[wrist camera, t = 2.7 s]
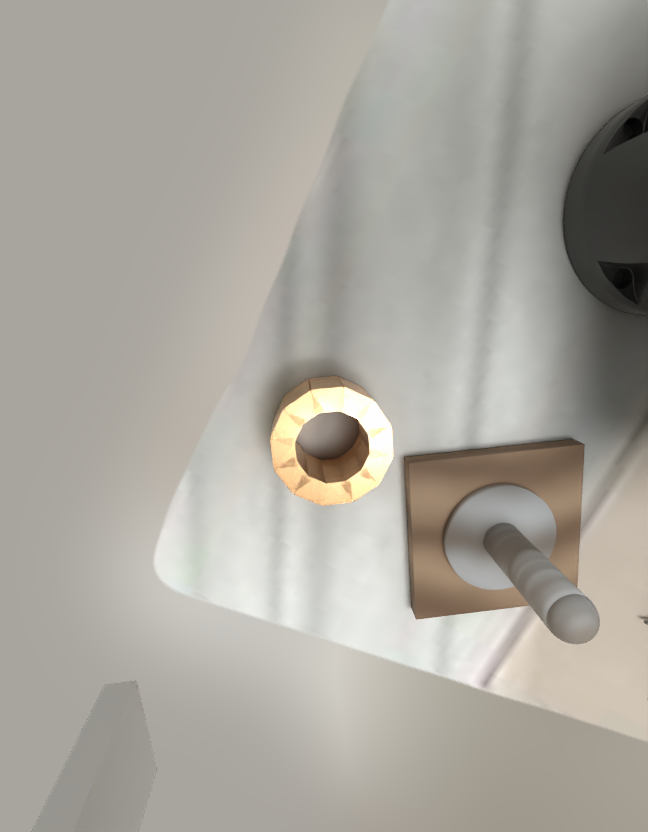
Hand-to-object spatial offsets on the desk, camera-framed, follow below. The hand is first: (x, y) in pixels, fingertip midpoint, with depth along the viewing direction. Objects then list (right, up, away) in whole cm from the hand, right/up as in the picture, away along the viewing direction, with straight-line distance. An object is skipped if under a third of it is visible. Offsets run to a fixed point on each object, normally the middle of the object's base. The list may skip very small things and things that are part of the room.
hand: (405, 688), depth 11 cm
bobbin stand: (+12, -2, +27) cm, 30 cm away
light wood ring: (-2, +6, +24) cm, 25 cm away
